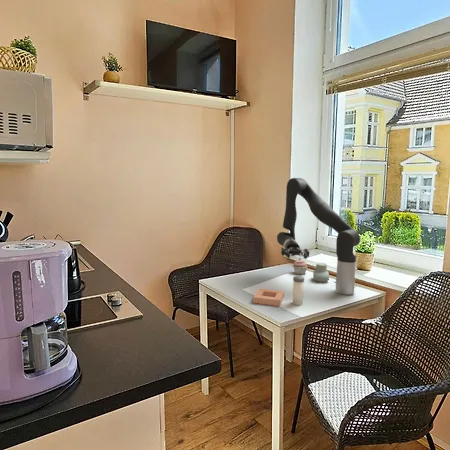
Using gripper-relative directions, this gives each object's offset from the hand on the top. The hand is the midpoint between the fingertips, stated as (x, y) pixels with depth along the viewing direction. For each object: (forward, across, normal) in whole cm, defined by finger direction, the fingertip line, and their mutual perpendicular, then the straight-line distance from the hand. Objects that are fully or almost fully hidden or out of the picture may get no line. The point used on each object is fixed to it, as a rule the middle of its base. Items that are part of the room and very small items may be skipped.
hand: (297, 256), depth 185 cm
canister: (+12, 0, +20) cm, 23 cm away
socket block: (+8, -14, +21) cm, 26 cm away
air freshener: (-23, +21, +22) cm, 38 cm away
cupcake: (-36, +12, +23) cm, 45 cm away
